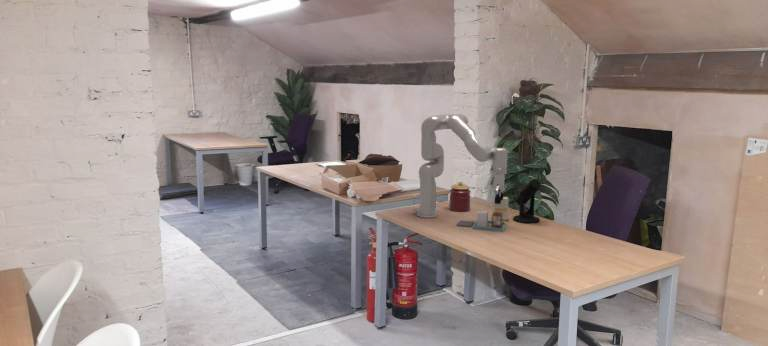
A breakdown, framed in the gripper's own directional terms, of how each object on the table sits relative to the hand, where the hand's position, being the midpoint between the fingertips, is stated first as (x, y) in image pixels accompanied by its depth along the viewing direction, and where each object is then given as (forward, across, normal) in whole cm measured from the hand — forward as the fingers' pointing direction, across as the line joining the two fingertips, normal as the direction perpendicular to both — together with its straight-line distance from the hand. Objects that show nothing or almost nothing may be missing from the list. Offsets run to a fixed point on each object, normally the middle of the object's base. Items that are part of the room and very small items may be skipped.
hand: (498, 201), depth 302 cm
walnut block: (+15, 0, -1) cm, 15 cm away
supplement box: (+15, -18, -1) cm, 23 cm away
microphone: (+15, -21, +13) cm, 29 cm away
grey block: (+14, 0, -9) cm, 17 cm away
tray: (+14, 0, -5) cm, 15 cm away
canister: (+14, -34, -28) cm, 47 cm away
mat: (+14, 0, -18) cm, 23 cm away
